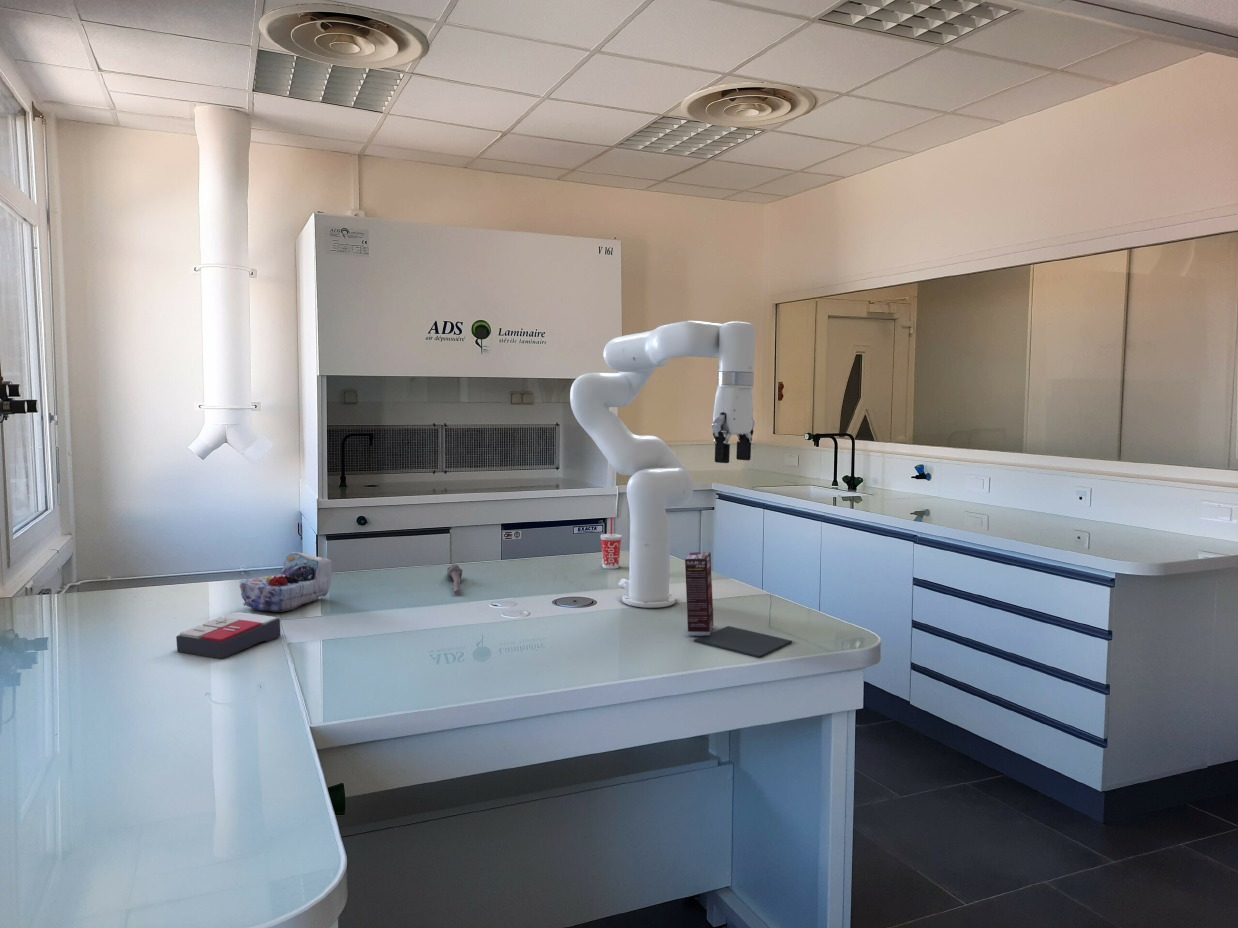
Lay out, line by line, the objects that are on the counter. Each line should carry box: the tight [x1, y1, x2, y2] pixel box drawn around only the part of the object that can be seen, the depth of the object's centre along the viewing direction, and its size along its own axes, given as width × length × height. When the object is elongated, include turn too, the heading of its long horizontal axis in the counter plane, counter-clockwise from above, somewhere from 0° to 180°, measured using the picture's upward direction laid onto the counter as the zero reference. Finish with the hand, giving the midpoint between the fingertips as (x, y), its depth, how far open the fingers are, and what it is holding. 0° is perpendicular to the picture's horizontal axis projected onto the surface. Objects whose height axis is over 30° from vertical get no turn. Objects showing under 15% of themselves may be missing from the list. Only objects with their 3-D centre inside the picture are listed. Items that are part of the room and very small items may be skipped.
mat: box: [693, 625, 793, 658], centre depth 168 cm, size 15×13×1 cm
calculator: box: [175, 611, 282, 660], centre depth 160 cm, size 11×4×15 cm
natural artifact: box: [446, 564, 463, 596], centre depth 211 cm, size 4×23×4 cm
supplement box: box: [684, 551, 714, 637], centre depth 174 cm, size 9×5×16 cm, turn 168°
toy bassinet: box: [239, 551, 333, 613], centre depth 188 cm, size 13×11×20 cm
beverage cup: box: [600, 517, 623, 570], centre depth 234 cm, size 6×6×14 cm
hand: (732, 461), depth 179 cm, fingers open, 9 cm apart
